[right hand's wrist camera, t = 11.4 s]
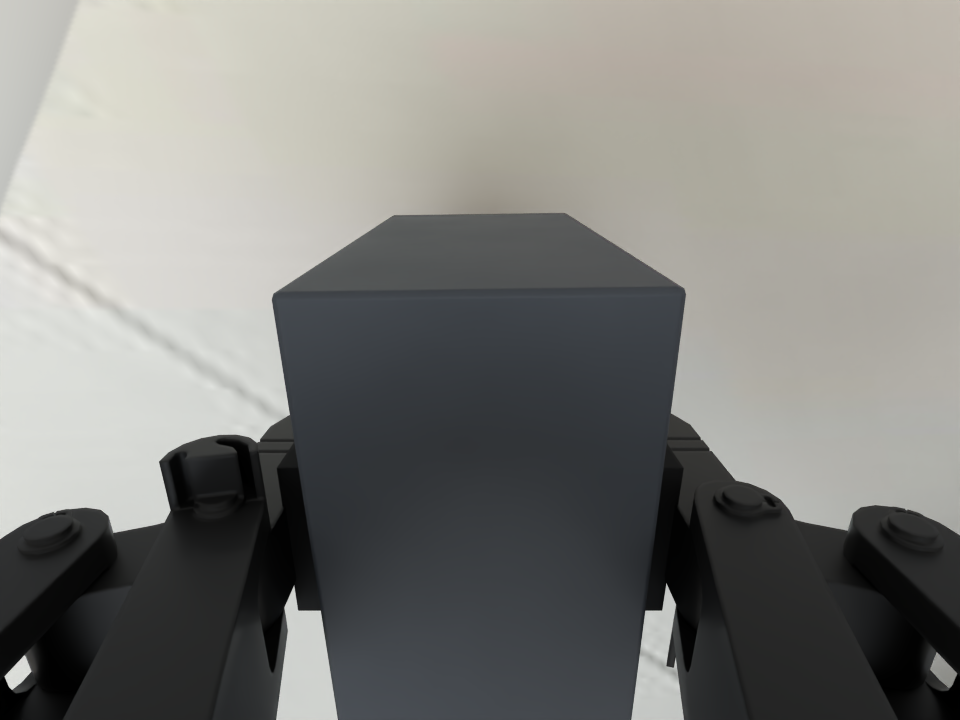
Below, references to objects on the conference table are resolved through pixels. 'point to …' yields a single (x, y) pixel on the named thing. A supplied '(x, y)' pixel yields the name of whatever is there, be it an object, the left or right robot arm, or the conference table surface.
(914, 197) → the conference table surface
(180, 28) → the conference table surface
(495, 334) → the bar
